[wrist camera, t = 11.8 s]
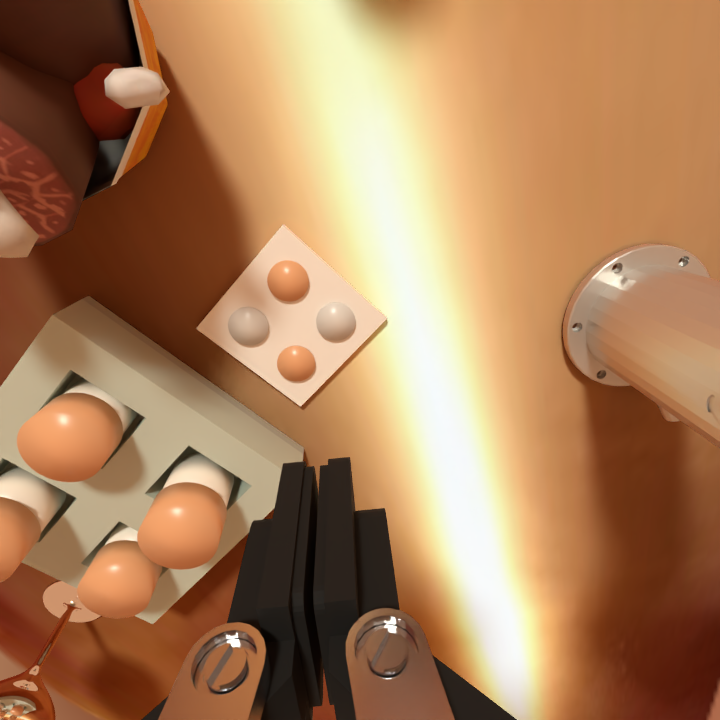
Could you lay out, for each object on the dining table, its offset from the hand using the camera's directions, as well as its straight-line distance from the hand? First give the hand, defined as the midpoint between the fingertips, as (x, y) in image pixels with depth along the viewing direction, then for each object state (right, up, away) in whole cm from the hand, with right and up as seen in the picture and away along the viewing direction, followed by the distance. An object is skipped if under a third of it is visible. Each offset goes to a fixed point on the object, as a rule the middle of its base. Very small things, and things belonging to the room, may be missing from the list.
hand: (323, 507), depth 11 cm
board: (-20, -5, +30) cm, 36 cm away
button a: (-13, -6, +27) cm, 30 cm away
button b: (-20, 0, +25) cm, 32 cm away
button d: (-27, -7, +26) cm, 38 cm away
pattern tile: (-5, +7, +25) cm, 27 cm away
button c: (-20, -13, +31) cm, 39 cm away
